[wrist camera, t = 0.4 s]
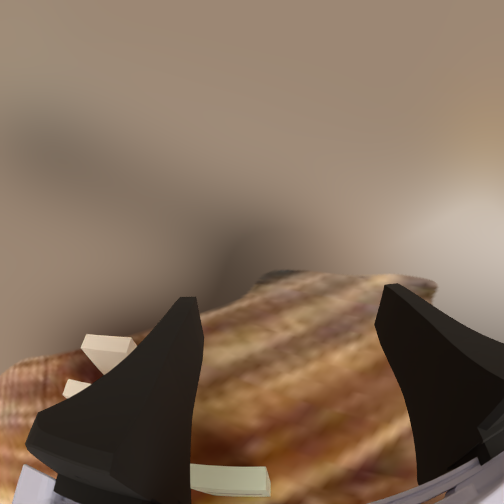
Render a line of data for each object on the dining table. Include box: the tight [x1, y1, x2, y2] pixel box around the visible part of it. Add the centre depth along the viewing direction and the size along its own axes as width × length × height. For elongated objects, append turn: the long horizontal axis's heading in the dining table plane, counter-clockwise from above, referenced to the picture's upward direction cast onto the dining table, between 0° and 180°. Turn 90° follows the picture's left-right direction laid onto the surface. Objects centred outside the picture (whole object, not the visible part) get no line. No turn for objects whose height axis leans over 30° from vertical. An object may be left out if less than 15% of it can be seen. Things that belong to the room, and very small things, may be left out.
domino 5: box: [81, 334, 137, 375], centre depth 24 cm, size 2×5×10 cm, turn 90°
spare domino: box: [190, 464, 271, 497], centre depth 15 cm, size 2×5×10 cm, turn 89°
